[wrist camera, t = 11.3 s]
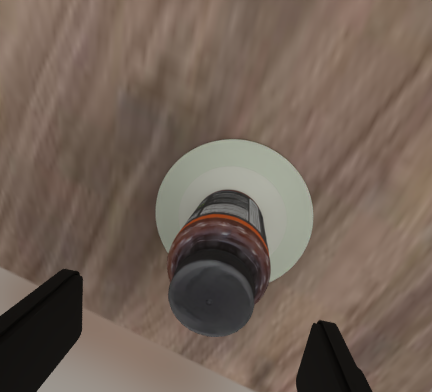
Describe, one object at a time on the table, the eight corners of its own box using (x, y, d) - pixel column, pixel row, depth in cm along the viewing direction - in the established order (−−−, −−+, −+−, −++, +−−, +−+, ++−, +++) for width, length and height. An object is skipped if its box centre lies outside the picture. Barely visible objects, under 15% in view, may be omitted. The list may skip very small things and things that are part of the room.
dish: (216, 302, 26) (214, 313, 25) (133, 195, 24) (125, 200, 23) (339, 234, 23) (345, 242, 21) (251, 105, 21) (252, 102, 20)
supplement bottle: (249, 260, 23) (248, 375, 12) (188, 237, 23) (132, 330, 12) (273, 200, 21) (298, 271, 10) (207, 177, 21) (164, 222, 11)
